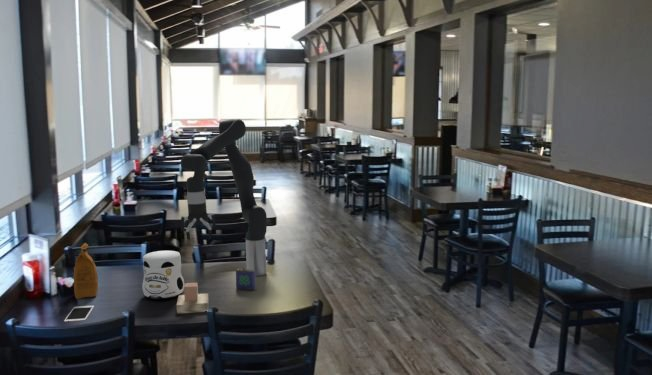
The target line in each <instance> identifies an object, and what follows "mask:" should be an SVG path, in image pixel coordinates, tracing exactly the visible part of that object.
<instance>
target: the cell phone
mask: <svg viewBox="0 0 652 375" xmlns="http://www.w3.org/2000/svg"><path fill="white" fill-rule="evenodd" d="M94 307H95V305H82V306H80V305H78V306H74V307H73V308H72V309H71V311H70V312H69V313H68V314H67V316H66V317H65V319H64V320H63V322H65V323H66V322H68V321H69V322H80V321H86V320H87V319H88V317H89V315H90V314H91V312H92V310H94Z"/></svg>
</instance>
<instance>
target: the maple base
mask: <svg viewBox="0 0 652 375" xmlns="http://www.w3.org/2000/svg"><path fill="white" fill-rule="evenodd" d="M209 301H210V300H209V293H198V301H186V302H185V296H184V294H180V295H178V296H177V302H176V314H177V315H178V314H191V313H192V314H193V313H204V312H205V311H206V310H207V309H208V310H209ZM205 313H206V312H205Z"/></svg>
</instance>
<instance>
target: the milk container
mask: <svg viewBox="0 0 652 375" xmlns="http://www.w3.org/2000/svg"><path fill="white" fill-rule="evenodd" d="M142 264H143V280H142V286H141V287H142V288H141V290H142V293H143V295H144V296H145V297H146V298H148V299H150V300H151V299H152V300H167V299H173V298H176V297H178V296H179V295H182V294H183V293H184V285H185V280H184V277H183V273H182V272H183V271H182V258H181V254H180V252H179V251H175V250H157V251H152V252H148V253H146V254H144V255H143V257H142Z"/></svg>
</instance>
